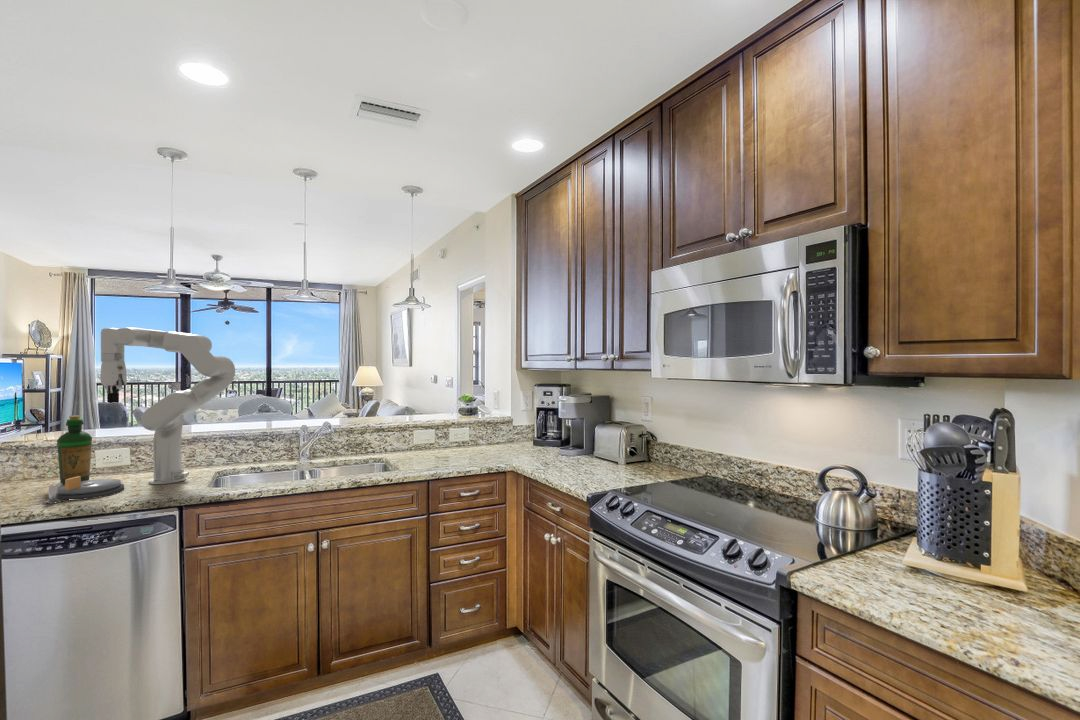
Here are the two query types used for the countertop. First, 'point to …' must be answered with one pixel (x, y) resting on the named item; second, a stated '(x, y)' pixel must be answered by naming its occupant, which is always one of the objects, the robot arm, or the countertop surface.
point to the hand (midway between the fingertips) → (112, 402)
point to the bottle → (74, 451)
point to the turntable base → (92, 494)
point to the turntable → (86, 486)
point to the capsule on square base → (53, 494)
